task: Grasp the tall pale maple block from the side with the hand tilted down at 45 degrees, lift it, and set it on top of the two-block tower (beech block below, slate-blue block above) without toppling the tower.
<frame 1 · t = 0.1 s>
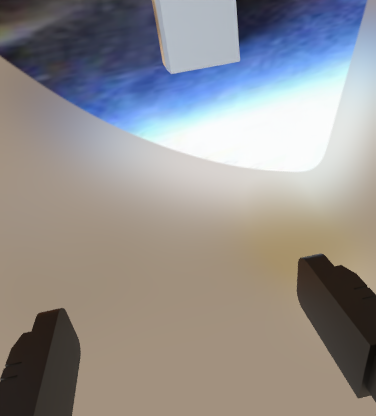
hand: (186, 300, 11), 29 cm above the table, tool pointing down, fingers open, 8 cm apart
tower mid: (192, 28, 30), point 4 cm above the table, touching tower base
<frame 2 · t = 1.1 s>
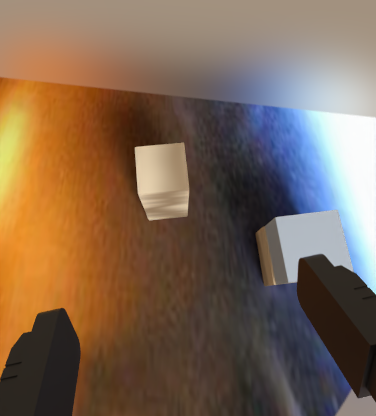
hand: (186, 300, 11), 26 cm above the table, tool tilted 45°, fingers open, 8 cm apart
maple block: (166, 200, 39), on the table
tower base: (285, 256, 37), on the table, touching tower mid
tower mid: (298, 251, 33), point 4 cm above the table, touching tower base
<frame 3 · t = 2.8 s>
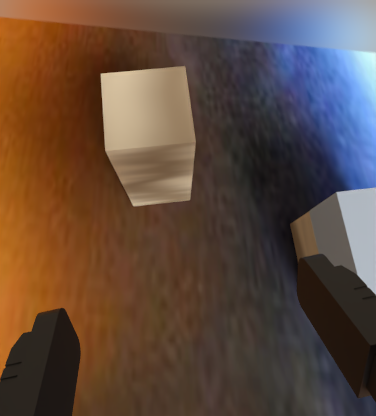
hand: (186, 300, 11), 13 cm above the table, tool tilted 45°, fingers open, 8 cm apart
maple block: (159, 176, 26), on the table
tower base: (335, 257, 25), on the table, touching tower mid
tower mid: (363, 249, 21), point 4 cm above the table, touching tower base
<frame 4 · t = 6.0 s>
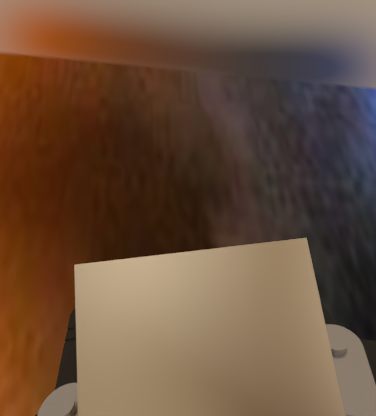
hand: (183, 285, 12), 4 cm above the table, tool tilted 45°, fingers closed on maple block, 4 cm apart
maple block: (191, 328, 15), on the table, touching gripper
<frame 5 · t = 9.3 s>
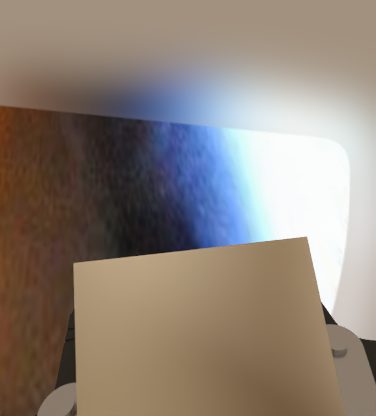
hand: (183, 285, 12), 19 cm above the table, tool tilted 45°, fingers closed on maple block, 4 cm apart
maple block: (191, 327, 15), point 15 cm above the table, touching gripper
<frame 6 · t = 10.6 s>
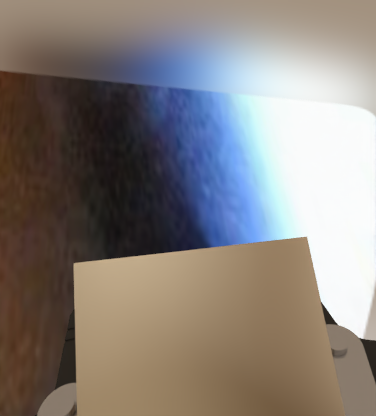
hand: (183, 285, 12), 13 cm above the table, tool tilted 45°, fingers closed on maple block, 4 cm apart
maple block: (191, 327, 15), point 9 cm above the table, touching gripper
when the fingers open (13 cm above the table, at t = 11.0 s): maple block drops 1 cm, resting on tower mid.
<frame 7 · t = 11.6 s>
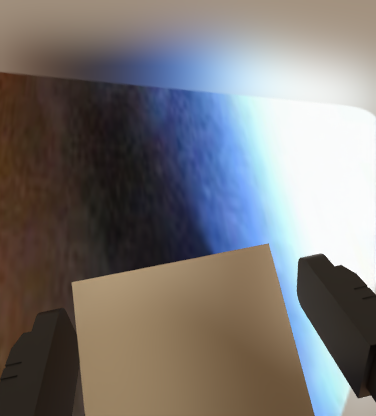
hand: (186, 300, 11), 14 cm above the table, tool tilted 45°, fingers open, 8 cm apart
maple block: (185, 328, 16), point 8 cm above the table, touching tower mid
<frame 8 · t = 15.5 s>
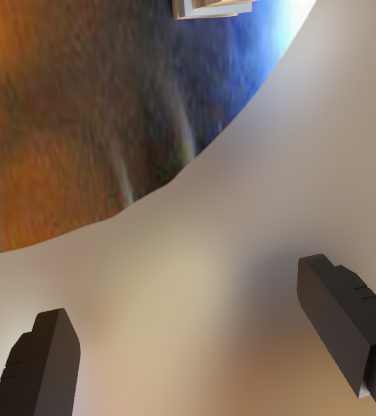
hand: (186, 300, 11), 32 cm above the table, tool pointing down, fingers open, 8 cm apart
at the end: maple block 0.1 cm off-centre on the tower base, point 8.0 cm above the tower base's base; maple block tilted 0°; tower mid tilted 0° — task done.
